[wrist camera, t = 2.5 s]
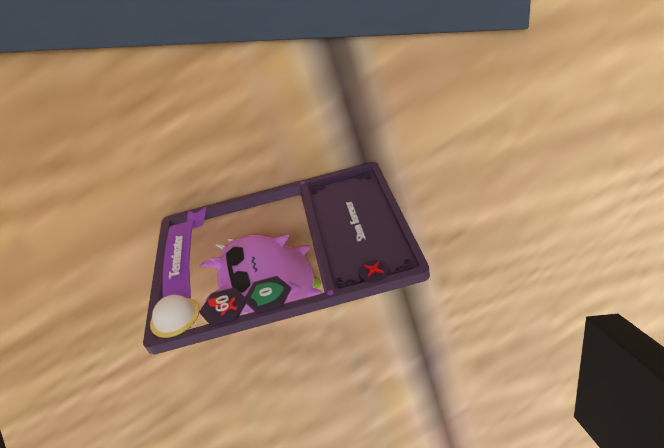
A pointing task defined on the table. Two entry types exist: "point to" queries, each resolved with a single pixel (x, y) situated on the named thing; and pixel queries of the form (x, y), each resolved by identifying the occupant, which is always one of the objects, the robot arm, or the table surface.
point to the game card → (285, 260)
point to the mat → (239, 20)
